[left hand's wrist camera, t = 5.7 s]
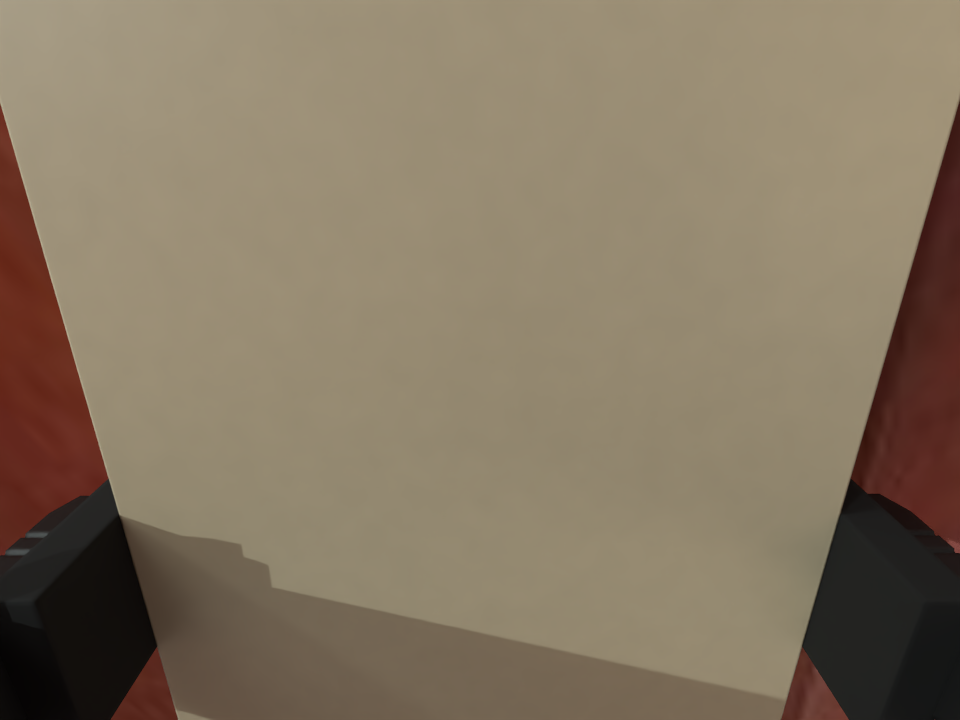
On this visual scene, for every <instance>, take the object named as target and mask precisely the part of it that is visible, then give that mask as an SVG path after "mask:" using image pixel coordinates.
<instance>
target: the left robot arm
mask: <svg viewBox="0 0 960 720" xmlns="http://www.w3.org/2000/svg"><path fill="white" fill-rule="evenodd" d="M156 647H157V644H156V640H155V637H154V633H153V630H152V626H151V623H150V620H149V616H148V613H147V609H146V606H145V602H144V599H143V595H142V592H141V588H140V585H139V581H138V578H137V574H136V571H135V568H134V564H133V561H132V557H131V554H130V550H129V547H128V543H127V540H126V536H125V533H124V529H123V526H122V522H121V519H120V516H119V512H118V509H117V505H116V502H115V498H114V495H113V491H112V488H111V484H110V481H109V479H108V480H107V481H106V482H105V483H103V484H102V485H101V486H100V487H99V488H98V489H97V490H96V491H95V492H94V493H92V494H91V495H90V496H80V497H78V498H76V499H74V500H72V501H71V502H69V503H67V504H65V505H63V506H62V507H60V508H58V509H56V510H54V511H53V512H51V513H49V514H48V515H47V516H46V517H45V518H43V519H42V520H41V521H40V522H39V523H38V524H36V525H35V526H34V527H33V528H32V529H31V530H29V531H28V532H27V533H26V536H25V538H20V539H19V540H18V541H17V542H16V543H14V544H13V545H12V546H11V547H10V548H9V549H7V550H6V554H5V555H1V556H0V720H110V719H111V718H112V716H113V715H114V713H115V711H116V710H117V708H118V707H119V705H120V704H121V702H122V700H123V699H124V697H125V696H126V694H127V693H128V691H129V690H130V688H131V686H132V685H133V683H134V682H135V680H136V679H137V677H138V675H139V674H140V672H141V671H142V669H143V668H144V666H145V664H146V663H147V661H148V660H149V658H150V657H151V655H152V654H153V652H154V650H155V649H156ZM802 647H803V648H804V650H805V651H806V653H807V654H808V656H809V658H810V659H811V661H812V662H813V664H814V665H815V667H816V669H817V670H818V672H819V673H820V675H821V676H822V678H823V680H824V681H825V683H826V684H827V686H828V687H829V689H830V690H831V692H832V694H833V695H834V697H835V698H836V700H837V701H838V703H839V705H840V706H841V708H842V709H843V711H844V712H845V714H846V716H847V717H848V719H849V720H934V719H935V720H960V553H955V552H954V548H953V547H952V546H950V545H949V544H948V543H947V542H946V541H945V540H943V539H942V538H941V537H940V536H935V534H934V531H933V530H932V529H931V528H929V527H928V526H927V525H926V524H925V523H924V522H922V521H921V520H920V519H919V518H918V517H917V516H915V515H914V514H913V513H912V512H911V511H909V510H907V509H906V508H904V507H902V506H900V505H898V504H897V503H895V502H893V501H891V500H889V499H888V498H886V497H884V496H882V495H880V494H867V493H866V492H865V491H864V490H863V489H861V488H860V487H859V486H858V485H857V484H856V483H855V482H854V481H853V480H852V479H850V482H849V485H848V489H847V492H846V496H845V499H844V503H843V506H842V510H841V513H840V517H839V520H838V524H837V527H836V531H835V534H834V537H833V541H832V544H831V548H830V551H829V555H828V558H827V562H826V565H825V569H824V572H823V576H822V579H821V583H820V586H819V589H818V593H817V596H816V600H815V603H814V607H813V610H812V614H811V617H810V621H809V624H808V628H807V631H806V635H805V638H804V641H803V645H802Z"/></svg>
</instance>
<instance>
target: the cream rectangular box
mask: <svg viewBox="0 0 960 720" xmlns="http://www.w3.org/2000/svg"><path fill="white" fill-rule="evenodd" d="M959 101H960V0H0V103H1V107H2V110H3V114H4V117H5V120H6V124H7V127H8V131H9V134H10V138H11V141H12V145H13V148H14V152H15V155H16V159H17V162H18V166H19V169H20V172H21V176H22V179H23V183H24V186H25V190H26V193H27V197H28V200H29V204H30V207H31V211H32V214H33V217H34V221H35V224H36V228H37V231H38V235H39V238H40V242H41V245H42V249H43V252H44V256H45V259H46V263H47V266H48V269H49V273H50V276H51V280H52V283H53V287H54V290H55V294H56V297H57V301H58V304H59V308H60V311H61V315H62V318H63V321H64V325H65V328H66V332H67V335H68V339H69V342H70V346H71V349H72V353H73V356H74V360H75V363H76V367H77V370H78V373H79V377H80V380H81V384H82V387H83V391H84V394H85V398H86V401H87V405H88V408H89V412H90V415H91V419H92V422H93V425H94V429H95V432H96V436H97V439H98V443H99V446H100V450H101V453H102V457H103V460H104V464H105V467H106V471H107V474H108V477H109V481H110V484H111V488H112V491H113V495H114V498H115V502H116V505H117V509H118V512H119V516H120V519H121V522H122V526H123V529H124V533H125V536H126V540H127V543H128V547H129V550H130V554H131V557H132V561H133V564H134V568H135V571H136V574H137V578H138V581H139V585H140V588H141V592H142V595H143V599H144V602H145V606H146V609H147V613H148V616H149V620H150V623H151V626H152V630H153V633H154V637H155V640H156V644H157V647H158V651H159V654H160V658H161V661H162V665H163V668H164V672H165V675H166V678H167V682H168V685H169V689H170V692H171V696H172V699H173V703H174V706H175V710H176V713H177V717H178V720H781V718H782V714H783V711H784V707H785V704H786V700H787V697H788V693H789V690H790V687H791V683H792V680H793V676H794V673H795V669H796V666H797V662H798V659H799V655H800V652H801V648H802V645H803V641H804V638H805V635H806V631H807V628H808V624H809V621H810V617H811V614H812V610H813V607H814V603H815V600H816V596H817V593H818V589H819V586H820V583H821V579H822V576H823V572H824V569H825V565H826V562H827V558H828V555H829V551H830V548H831V544H832V541H833V537H834V534H835V531H836V527H837V524H838V520H839V517H840V513H841V510H842V506H843V503H844V499H845V496H846V492H847V489H848V485H849V482H850V479H851V475H852V472H853V468H854V465H855V461H856V458H857V454H858V451H859V447H860V444H861V440H862V437H863V434H864V430H865V427H866V423H867V420H868V416H869V413H870V409H871V406H872V402H873V399H874V395H875V392H876V388H877V385H878V382H879V378H880V375H881V371H882V368H883V364H884V361H885V357H886V354H887V350H888V347H889V343H890V340H891V336H892V333H893V330H894V326H895V323H896V319H897V316H898V312H899V309H900V305H901V302H902V298H903V295H904V291H905V288H906V284H907V281H908V278H909V274H910V271H911V267H912V264H913V260H914V257H915V253H916V250H917V246H918V243H919V239H920V236H921V232H922V229H923V226H924V222H925V219H926V215H927V212H928V208H929V205H930V201H931V198H932V194H933V191H934V187H935V184H936V180H937V177H938V174H939V170H940V167H941V163H942V160H943V156H944V153H945V149H946V146H947V142H948V139H949V135H950V132H951V129H952V125H953V122H954V118H955V115H956V111H957V108H958V104H959Z"/></svg>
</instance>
